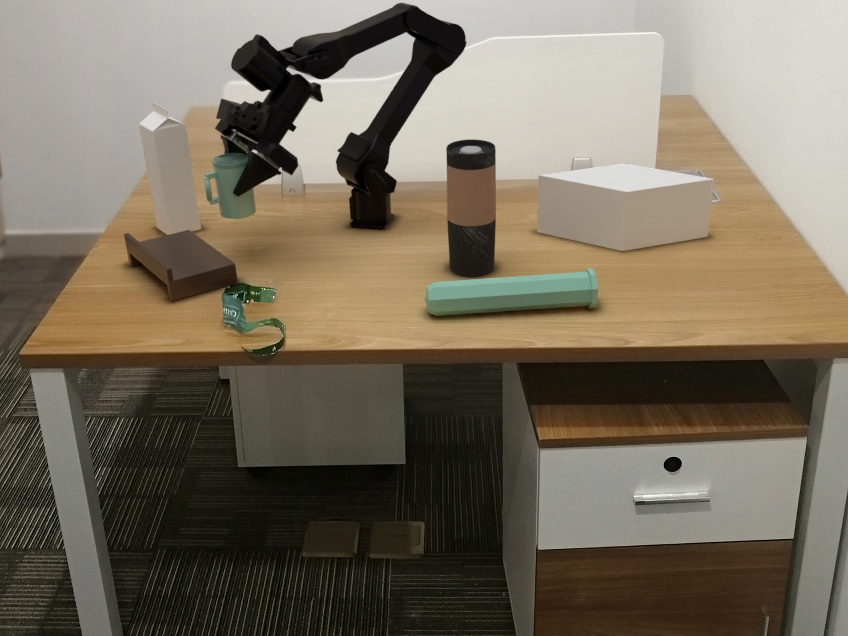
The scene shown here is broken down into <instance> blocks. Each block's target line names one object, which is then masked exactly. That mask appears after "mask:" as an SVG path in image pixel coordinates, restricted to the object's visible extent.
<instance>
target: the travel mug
mask: <svg viewBox="0 0 848 636" xmlns="http://www.w3.org/2000/svg"><path fill="white" fill-rule="evenodd" d="M445 151H446V221H447V240H448V257H449V268H450V271H451V272H452V273H453V274H455V275H457V276H460V277H467V278H475V277H483V276H486V275H489V274H490V273H492V272H493V270H494V268H495V255H496V254H495V253H496V229H497V225H496V224H497V194H496V193H497V183H496V182H497V177H496V176H497V175H496V173H497V172H496V171H497V169H496V164H497V162H496V160H497V159H496V154H497V153H496V152H497V151H496V145H495V144H494V143H493V142H492V141H489V140H485V139H484V140H483V139H473V138H472V139H470V138H469V139H461V140H456V141H452V142H450V143H449V144H447V146H446V148H445Z"/></svg>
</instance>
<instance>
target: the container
mask: <svg viewBox="0 0 848 636" xmlns="http://www.w3.org/2000/svg"><path fill="white" fill-rule="evenodd" d="M598 294H599V287H598V280H597V273H596V272H595V270H594V268H593V267H589V268H586V270H585V271H577V272H562V273H561V272H560V273H547V274H531V275H517V276H504V277H503V276H502V277H489V278H488V277H487V278H486V277H485V278H474V279H458V280H443V281H434V282H432V283H430V284H428V285H427V286H426V291H425V296H424V302H425V305H426V308H427V311H428V314H430V315H433V316H436V317H443V316H458V315H472V314H474V315H475V314H485V313H486V314H487V313H502V312H516V311H530V310H545V309H546V310H547V309H557V308H573V307H587V308H588V309H595V308H596V306H597V305H598Z"/></svg>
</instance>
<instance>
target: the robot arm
mask: <svg viewBox="0 0 848 636" xmlns="http://www.w3.org/2000/svg"><path fill="white" fill-rule="evenodd" d="M403 34H407V35H409V36H410V37H412V38H413V39H414V40H413V43H412V48H411V49H412V50H411V59H410V62H409V63H408V65H407V66H406V67H405V69H404V70H403V72H402V74H401V75H400V77H399V79H398V81H397V82H395V84H394V86H393V88H392V89H391V91H390V92H389V94H388V96H387V97H386V99H385V100H384V102H383V103H382V105H381V106H380V108H379V110H378V111H377V112H376V114H375V116H374V117H373V119H372V120H371V122H370V124H369V126H368V127H367V128H366V129H365V130H364V131H362V132H360V133H359V134H357V133H354V132H352V131H350V133H348V135H347V136H346V137H345V141H344V143H343V144H342V145H341V146H340V147H339V148H338V149H337V150H336V152H338V155H337V156H336V158H335V164H336V170H337V173H338V175H339V176H340V177H341V178H343V179H344V181H345V183H346V185H347V186H349V187H351V188H352V189H351V190H350V194H351V195H350V197H349V198H348V202H349V218H350V220H351V222H349V226H350V227H354V228H366V229H367V228H368V229H379V230H385V229H386V228H387V227H388V225H389V224H390V223H391V222H392V221H393V219H394V218H395V213H392V203H391V200H392V199H391V194H393V193H395V190H396V187H397V183H398V181H397V179H396V178H394V177H393V176H392V175H391V174H389V173H388V172H387V171H386V170H387V167H388V165H389V162H390V161H389V160H390V151H391V146H392V144H393V142H394V141H395V140H396V138H397V136H398V135H399V133H400V132H401V130H402V129H403V127H404V125H405V123H406V122H407V120H408V119H409V117H410V116H411V114H412V113H413V111H414V110H415V108H416V107H417V105H418V104H419V102H420V100H421V99H422V97H423V96H424V94H425V92H426V91H427V89H428V88H429V87H430V85H431V83H432V82H433V80H434V79H435V77H437V76H438V75H439V74H441V73H442V72H444V71H446V70H447V69H449V68H450V67H451V66H453V64H454V63H455V62H456V61H457V60H458V58H459V57H460V56H461V55H462V54H463V53H464V51H465V49H466V46H467V38H466V36H467V35H466V33H465V30H464V28H463V27H462V26H461V25H459V24H458V23H454V22H449V21H445V20H442V19H439V18H437V17H435V16H433V15H432V14H429V13H427V11H424V10H423V9H421V8H420V7H419V6H418V5H414V4H410V3H406V2H398V3H396V4H394V5H393V6H392V7H390V8H388V9H386V10H385V9H384V10H383V11H381V12H379V13H377V14H374V15H372V16H370V17H368V18H365V19H362V20H361V21H358V22H356V23H353V24H352V25H349V26H346V27H345V28H342V29H340V30H336V31H329V32H321V33H314V34H309V35H306V36H302V37H299V38H297V39H296V40H295V41H294V42H293V43H292V45H291V46H288V47H286V48H281V49H280V50H278V49H277V48H275V47H274V46H273V45H272V44H271V43H270V41H269V40H268V39H267V38H266V37H264V36H263V35H262V34H258V33H255V35H254V36H253V38H252V39H250V40H248V41H246V42H245V43H244V44H243V45H242V46H241V47H239V48H237V50H236V51H235V53H234V54H233V56H232V58H231V62H230V67H231V69H232V71H234V72H235V73H236V74H237V75H239V76H240V77H241V78H243V80H245V81H246V82H247V83H249V84H250V85H251V86H252V87H254V89H256V90H258V91H259V92H266V91H269V92H268V93H267V95H266V96H265V98H264V99H263V101H260V100H258V99H257V101H256V100H255V101H254V102H253V103H252V102H248V101H246V100H244V101H243V102H242V103H239V102H235V101H233V100H229V99H225V98H220V101H219V105H218V109H217V113H216V116H215V118H216V120H219V121H218V123H217V124H216V125H215V126H214V130H216V131H217V132H218V133H220V139H221V140H222V145H223V146H224V147H223V148H224V152H223V154H228V153H242V154H246V155H247V156H248V163H247V165H246V167H245V169H244V171H243V173H242V175H241V177H240V178H239V180H238V182H237V184H236V186H235V189H234V191H233V194H235V195H236V196H241V195H242V194H244V193H246V192H247V191H249V190H251V189H252V188H253V189H254V188H256V187H257V186H259V185H260V184H263V183H264V182H266V181H268V180H270V179H272V178H274V177H276V176H281V175H282V173H283V172H284V173H286V174H288V175H289V176H293V175H294V173H295V172H296V170H297V169H298V167H299V161H298V160H299V159H298V157H297V156H296V155H294V154H293V153H292V152H291V151H289V150H288V149H287V148H285V147H284V146H283V145H282V144H281V142H282V141H283V139H284V137H285V136H286V134H288V132H289V131H290V132H292V133H295V130H296V129H297V127H298V126H296V124H294V123H295V121H296V120H297V118H298V117H299V115H300V113H301V112H302V110H303V109H304V107H305V106H306V104H307V103H308V101H309V100H310V99H311V100H314V101H316V102H319V103H323V102H324V97H323V93H322V85H321V84H320V83H317V82H315V81H313V82H311V81H309V80H308V79H307V78H306V77H304V76H303V75H302V74H304V75H306V76H309V77H312V78H315V79H317V80H327V79H330V78H331V77H333V76H334V75H335V74H337V73H338V72H340V71H342V69H344V68H345V67H346V65H347V64H348V63H349V61H350V60H351V59H353V58H354V57H355V56H357V55H360V54H361V53H364V52H366V51H368V50H371V49H372V48H375V47H378V46H380V45H382V44H384V43H386V42H388V41H390V40H392V39H395V38H397V37H399V36H401V35H403ZM287 69H291V70H294V71H296V72H298V73H294V74H292V72H290V71H289V70H287ZM300 73H301V74H300ZM254 151H256V152H254ZM280 169H281V170H282V172H281V170H280Z"/></svg>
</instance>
